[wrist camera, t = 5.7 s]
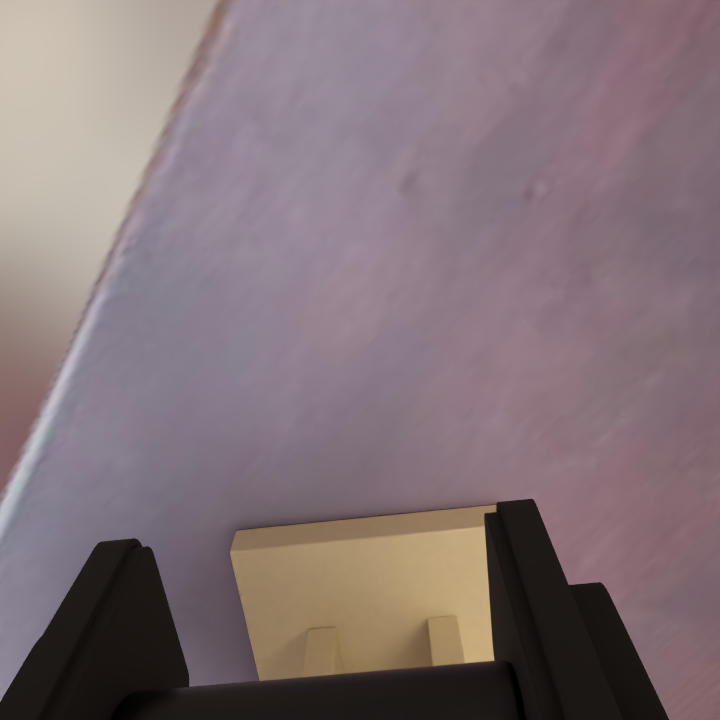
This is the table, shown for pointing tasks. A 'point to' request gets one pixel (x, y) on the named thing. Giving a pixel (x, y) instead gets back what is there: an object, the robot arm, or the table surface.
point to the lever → (345, 697)
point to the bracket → (366, 593)
